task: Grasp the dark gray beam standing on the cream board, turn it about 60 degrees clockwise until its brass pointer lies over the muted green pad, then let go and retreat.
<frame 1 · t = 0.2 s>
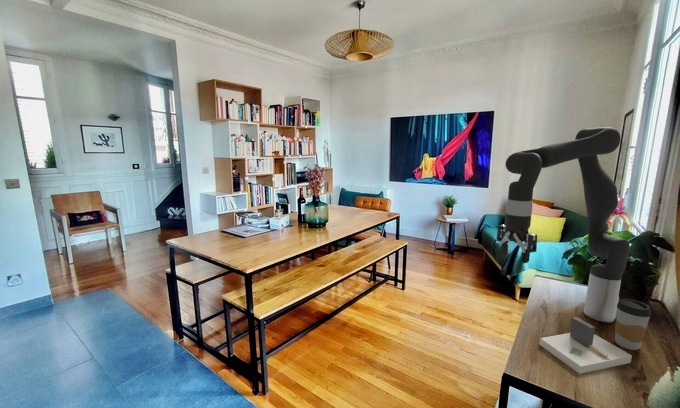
hand: (513, 258, 105), 29 cm above the table, fingers open, 8 cm apart
dark gray beam: (589, 336, 98), point 6 cm above the table, hinge at 0.0°
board: (583, 353, 99), on the table
coffee cup: (626, 345, 104), on the table
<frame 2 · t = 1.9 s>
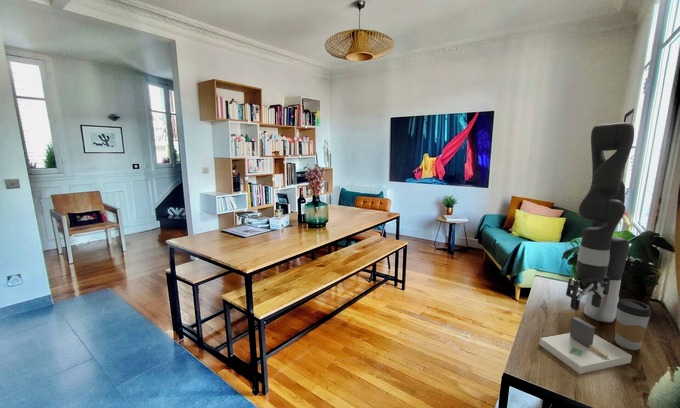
hand: (584, 307, 99), 15 cm above the table, fingers open, 8 cm apart
nothing on the table moved.
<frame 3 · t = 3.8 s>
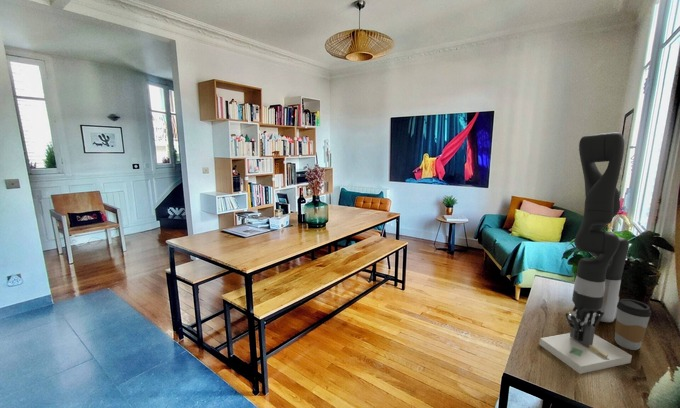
hand: (580, 339, 101), 4 cm above the table, fingers closed on dark gray beam, 2 cm apart
dark gray beam: (589, 336, 98), point 6 cm above the table, hinge at 0.0°, touching gripper
everything else where it was.
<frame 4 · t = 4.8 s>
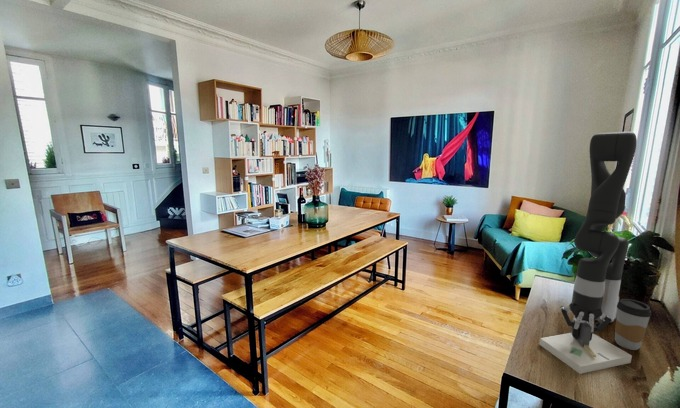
hand: (580, 338, 101), 4 cm above the table, fingers closed on dark gray beam, 2 cm apart
dark gray beam: (586, 336, 98), point 6 cm above the table, hinge at -27.8°, touching gripper
everything else where it was.
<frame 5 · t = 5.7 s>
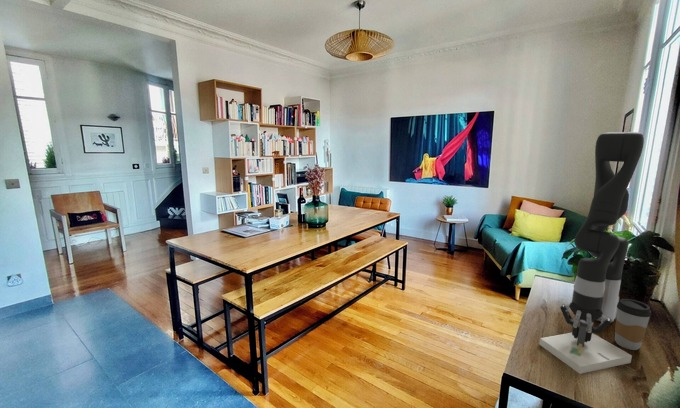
hand: (580, 338, 101), 4 cm above the table, fingers closed on dark gray beam, 2 cm apart
dark gray beam: (581, 335, 98), point 6 cm above the table, hinge at -53.3°, touching gripper
everything else where it was.
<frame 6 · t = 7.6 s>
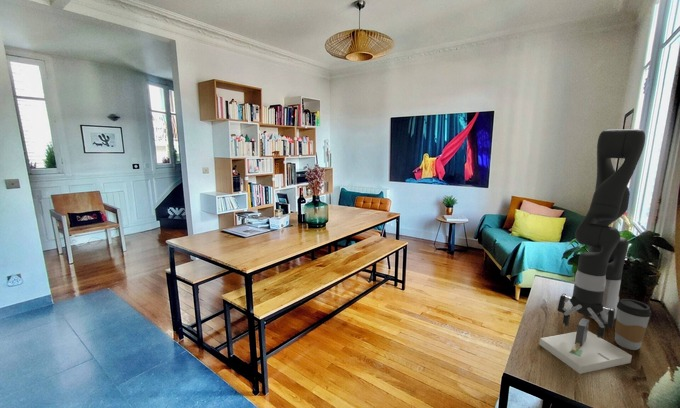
hand: (582, 330, 100), 7 cm above the table, fingers open, 8 cm apart
dark gray beam: (580, 335, 99), point 6 cm above the table, hinge at -63.4°
everything else where it was.
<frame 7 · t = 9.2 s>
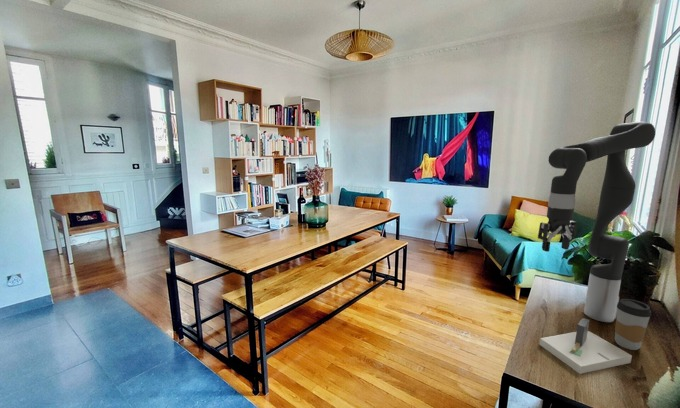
hand: (555, 249, 110), 30 cm above the table, fingers open, 8 cm apart
dark gray beam: (579, 334, 99), point 6 cm above the table, hinge at -64.0°
everything else where it was.
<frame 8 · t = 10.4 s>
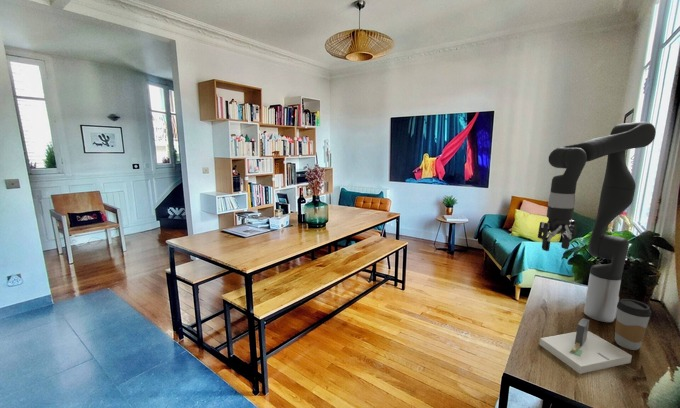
hand: (555, 249, 110), 30 cm above the table, fingers open, 8 cm apart
nothing on the table moved.
at the end: dark gray beam at -64° (first picture: +0°); the gripper is holding nothing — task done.
